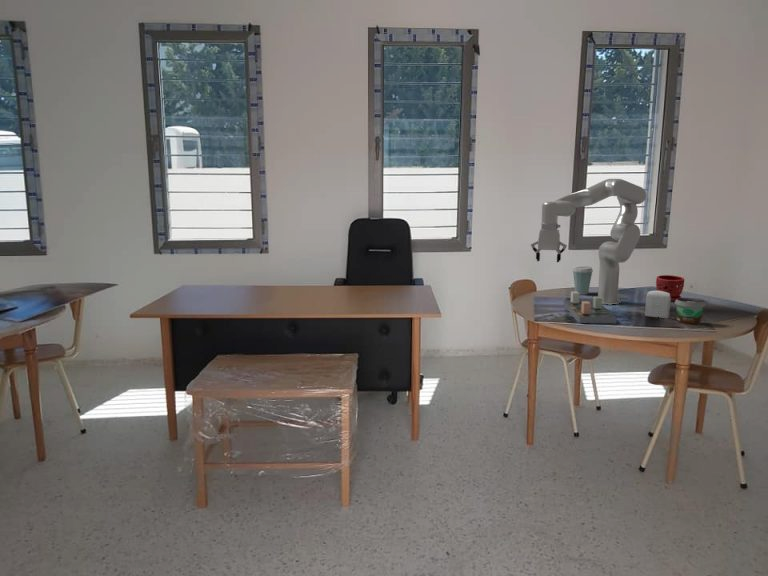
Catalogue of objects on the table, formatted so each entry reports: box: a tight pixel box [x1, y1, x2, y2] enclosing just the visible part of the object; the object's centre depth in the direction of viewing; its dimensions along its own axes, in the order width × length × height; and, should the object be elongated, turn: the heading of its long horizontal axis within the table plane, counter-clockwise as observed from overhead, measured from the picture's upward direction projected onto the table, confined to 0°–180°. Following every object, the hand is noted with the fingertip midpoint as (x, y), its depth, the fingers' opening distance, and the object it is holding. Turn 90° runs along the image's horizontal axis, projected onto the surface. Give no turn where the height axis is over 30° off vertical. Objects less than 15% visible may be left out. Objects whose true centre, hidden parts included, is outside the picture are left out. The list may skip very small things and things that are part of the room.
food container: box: [674, 299, 707, 325], centre depth 253 cm, size 12×6×10 cm, turn 70°
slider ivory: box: [570, 291, 580, 303], centre depth 282 cm, size 3×4×5 cm, turn 174°
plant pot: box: [655, 274, 685, 302], centre depth 298 cm, size 13×13×12 cm
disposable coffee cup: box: [572, 265, 594, 296], centre depth 317 cm, size 11×11×15 cm
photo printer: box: [644, 290, 672, 319], centre depth 264 cm, size 10×4×12 cm, turn 56°
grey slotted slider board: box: [563, 299, 617, 325], centre depth 272 cm, size 16×34×3 cm, turn 174°
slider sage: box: [592, 295, 603, 309], centre depth 271 cm, size 3×4×5 cm, turn 174°
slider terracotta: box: [581, 300, 591, 314], centre depth 261 cm, size 3×4×5 cm, turn 174°
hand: (548, 261), depth 285 cm, fingers open, 9 cm apart
